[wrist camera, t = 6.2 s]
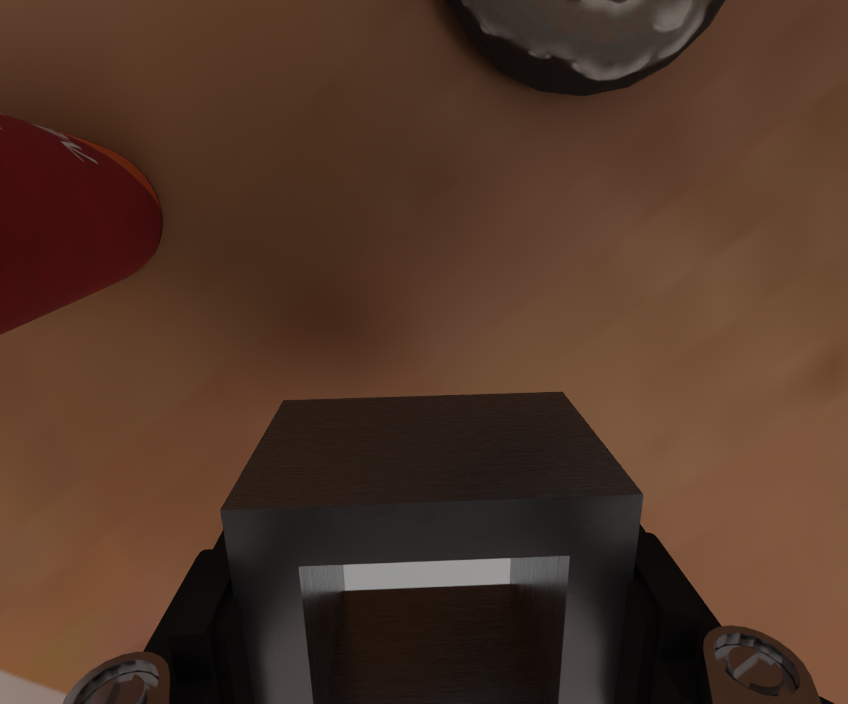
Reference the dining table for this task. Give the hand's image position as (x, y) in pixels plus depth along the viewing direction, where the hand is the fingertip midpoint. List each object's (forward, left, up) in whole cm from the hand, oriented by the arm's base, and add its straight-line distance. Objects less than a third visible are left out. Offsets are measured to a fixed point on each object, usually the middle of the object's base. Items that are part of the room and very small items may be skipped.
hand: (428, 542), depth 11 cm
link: (0, 0, -1) cm, 1 cm away
